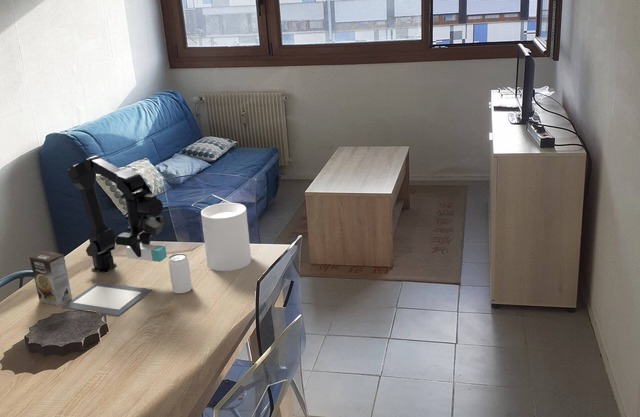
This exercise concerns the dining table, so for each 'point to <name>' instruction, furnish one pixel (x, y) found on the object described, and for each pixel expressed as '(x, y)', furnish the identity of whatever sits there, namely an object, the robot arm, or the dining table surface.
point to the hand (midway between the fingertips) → (143, 254)
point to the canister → (226, 236)
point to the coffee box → (51, 277)
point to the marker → (148, 252)
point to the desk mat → (107, 298)
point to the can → (180, 273)
